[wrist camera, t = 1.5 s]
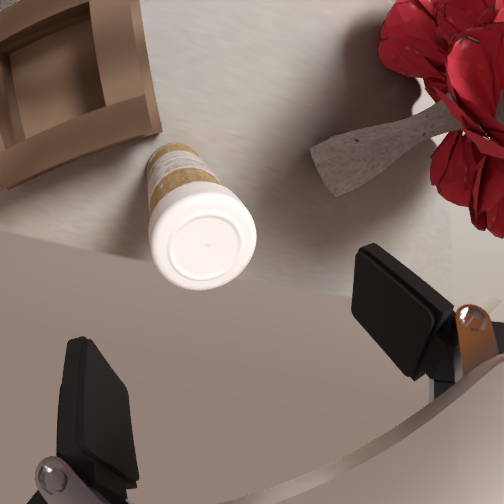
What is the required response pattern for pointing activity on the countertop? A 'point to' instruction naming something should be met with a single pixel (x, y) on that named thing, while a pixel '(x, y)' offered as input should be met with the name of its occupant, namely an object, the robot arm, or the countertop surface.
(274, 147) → the countertop surface
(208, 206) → the sprinkles bottle
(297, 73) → the countertop surface
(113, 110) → the socket block
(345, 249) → the countertop surface
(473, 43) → the bouquet
